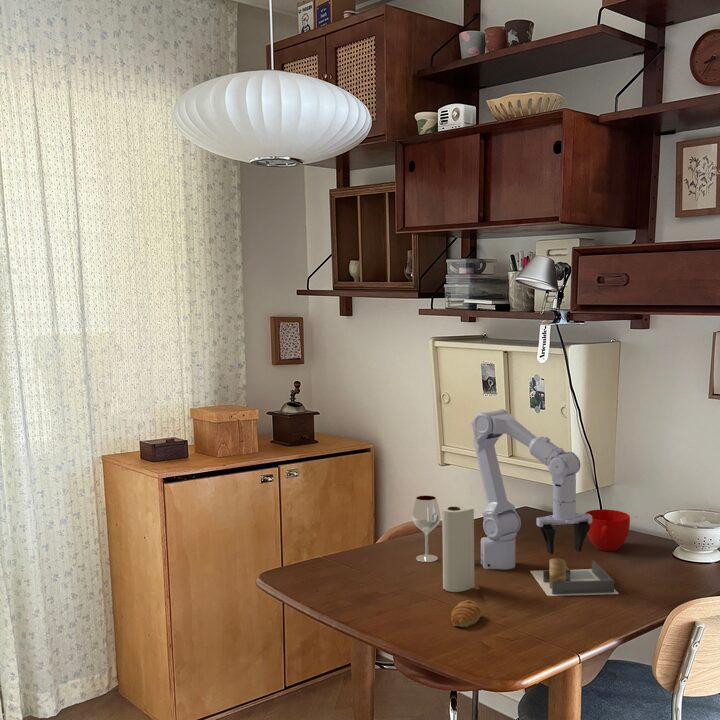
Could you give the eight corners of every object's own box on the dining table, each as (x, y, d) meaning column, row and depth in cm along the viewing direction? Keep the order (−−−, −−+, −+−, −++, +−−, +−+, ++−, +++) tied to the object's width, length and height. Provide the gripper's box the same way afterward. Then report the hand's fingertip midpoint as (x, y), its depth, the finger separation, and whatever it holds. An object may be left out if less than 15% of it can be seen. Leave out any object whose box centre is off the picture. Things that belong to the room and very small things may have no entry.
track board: (547, 599, 203) (547, 595, 203) (530, 574, 221) (530, 570, 221) (618, 597, 203) (618, 593, 203) (595, 572, 222) (595, 568, 222)
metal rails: (552, 594, 204) (552, 582, 204) (536, 572, 220) (536, 561, 220) (614, 592, 204) (614, 580, 204) (594, 571, 220) (594, 560, 220)
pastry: (473, 631, 185) (473, 615, 185) (444, 627, 188) (444, 611, 187) (483, 616, 194) (483, 600, 194) (455, 612, 196) (455, 597, 196)
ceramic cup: (580, 556, 236) (580, 522, 235) (587, 539, 252) (587, 507, 251) (627, 560, 231) (627, 526, 231) (631, 543, 247) (631, 511, 246)
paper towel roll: (438, 589, 211) (437, 509, 209) (450, 583, 216) (449, 503, 214) (462, 595, 207) (462, 513, 205) (474, 588, 212) (473, 507, 210)
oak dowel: (551, 590, 206) (551, 563, 206) (547, 584, 210) (547, 558, 210) (567, 590, 206) (567, 563, 206) (563, 584, 210) (563, 558, 210)
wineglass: (446, 559, 235) (446, 498, 234) (424, 565, 230) (423, 502, 229) (428, 552, 242) (428, 493, 240) (407, 558, 237) (406, 497, 236)
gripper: (544, 505, 204) (544, 558, 205) (597, 501, 207) (597, 554, 208) (533, 498, 211) (533, 550, 212) (585, 495, 214) (585, 545, 215)
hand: (564, 551), depth 210 cm, fingers open, 7 cm apart
